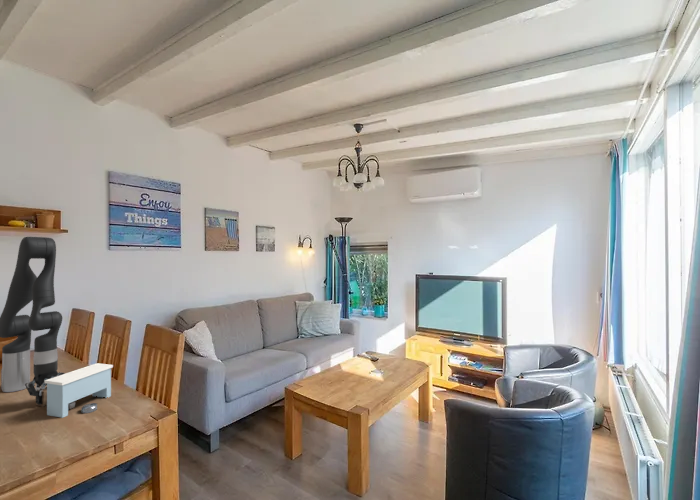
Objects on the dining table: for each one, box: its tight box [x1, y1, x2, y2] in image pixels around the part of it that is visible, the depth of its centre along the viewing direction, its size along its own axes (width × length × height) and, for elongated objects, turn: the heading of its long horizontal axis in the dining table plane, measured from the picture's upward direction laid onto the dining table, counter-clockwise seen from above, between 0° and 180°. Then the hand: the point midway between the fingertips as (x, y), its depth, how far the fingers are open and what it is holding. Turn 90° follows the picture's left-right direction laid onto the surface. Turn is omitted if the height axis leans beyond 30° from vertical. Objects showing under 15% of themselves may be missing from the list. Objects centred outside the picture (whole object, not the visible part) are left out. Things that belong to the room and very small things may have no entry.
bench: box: [45, 362, 114, 418], centre depth 143 cm, size 9×21×14 cm, turn 165°
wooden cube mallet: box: [36, 386, 76, 410], centre depth 143 cm, size 16×4×6 cm, turn 75°
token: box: [81, 402, 98, 414], centre depth 139 cm, size 5×5×2 cm
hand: (45, 401), depth 144 cm, fingers closed on wooden cube mallet, 3 cm apart
